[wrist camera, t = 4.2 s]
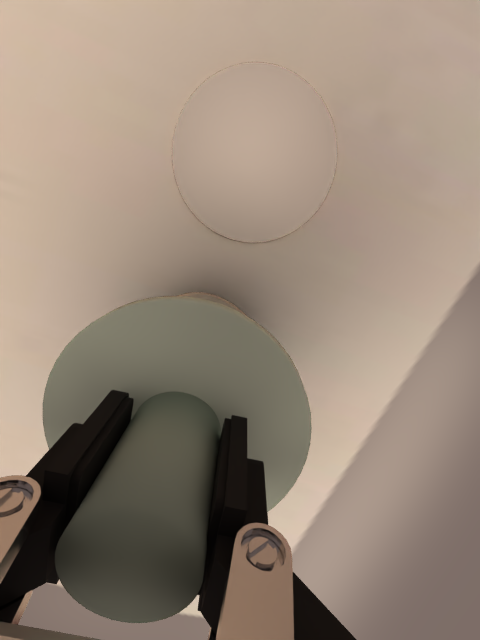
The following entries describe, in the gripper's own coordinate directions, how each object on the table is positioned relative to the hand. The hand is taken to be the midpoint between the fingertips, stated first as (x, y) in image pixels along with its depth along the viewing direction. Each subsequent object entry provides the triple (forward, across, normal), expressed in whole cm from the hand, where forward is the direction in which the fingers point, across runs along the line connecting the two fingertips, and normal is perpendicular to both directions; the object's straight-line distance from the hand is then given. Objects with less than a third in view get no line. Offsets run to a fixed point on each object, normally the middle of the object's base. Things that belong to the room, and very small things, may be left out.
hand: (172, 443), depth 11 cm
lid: (+2, 0, 0) cm, 2 cm away
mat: (+13, 0, -12) cm, 17 cm away
